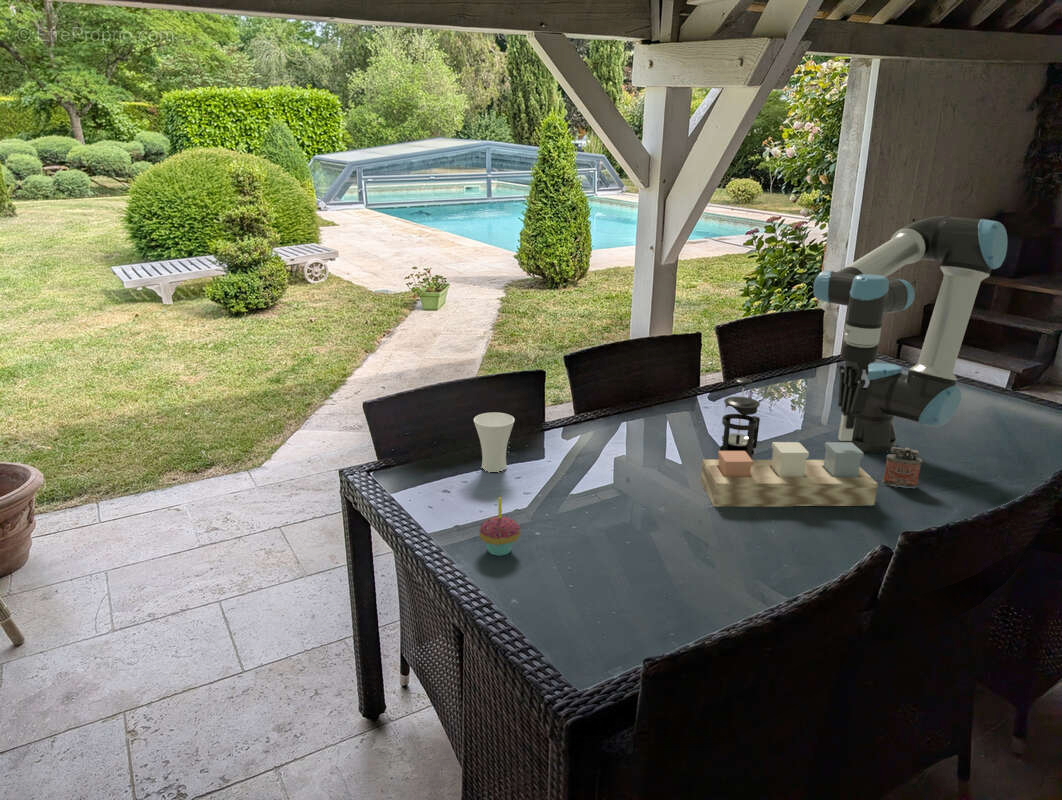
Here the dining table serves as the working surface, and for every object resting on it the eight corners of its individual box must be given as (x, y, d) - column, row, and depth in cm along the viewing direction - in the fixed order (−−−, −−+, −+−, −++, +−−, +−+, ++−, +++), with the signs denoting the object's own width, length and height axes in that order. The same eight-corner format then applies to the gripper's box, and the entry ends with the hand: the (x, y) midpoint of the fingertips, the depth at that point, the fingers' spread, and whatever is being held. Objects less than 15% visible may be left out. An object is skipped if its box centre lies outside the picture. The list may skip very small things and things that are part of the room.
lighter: (916, 485, 194) (923, 448, 190) (917, 490, 190) (925, 453, 187) (881, 480, 196) (887, 443, 193) (882, 485, 193) (889, 448, 190)
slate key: (848, 466, 189) (851, 442, 187) (859, 477, 183) (863, 452, 181) (821, 466, 189) (825, 442, 187) (832, 477, 183) (836, 452, 181)
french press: (732, 471, 200) (742, 387, 192) (708, 458, 207) (716, 377, 200) (765, 463, 205) (775, 381, 198) (740, 451, 213) (749, 371, 206)
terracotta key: (742, 474, 189) (745, 450, 187) (750, 486, 183) (753, 461, 181) (715, 474, 189) (718, 450, 187) (722, 486, 183) (725, 461, 181)
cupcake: (479, 540, 164) (478, 489, 160) (519, 539, 164) (519, 488, 160) (480, 561, 156) (479, 508, 152) (522, 560, 156) (522, 507, 152)
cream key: (795, 466, 189) (799, 442, 187) (805, 477, 183) (809, 452, 181) (769, 466, 189) (772, 442, 187) (778, 477, 182) (781, 452, 180)
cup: (521, 464, 202) (521, 416, 198) (503, 479, 193) (503, 429, 189) (485, 457, 206) (485, 409, 202) (466, 471, 197) (465, 422, 193)
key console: (849, 481, 195) (852, 459, 193) (873, 506, 182) (877, 483, 180) (700, 481, 194) (702, 459, 192) (714, 506, 180) (716, 483, 178)
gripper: (832, 336, 182) (818, 429, 189) (856, 350, 169) (840, 449, 177) (864, 336, 182) (848, 430, 190) (890, 351, 170) (872, 450, 177)
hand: (844, 439), depth 183 cm, fingers closed
